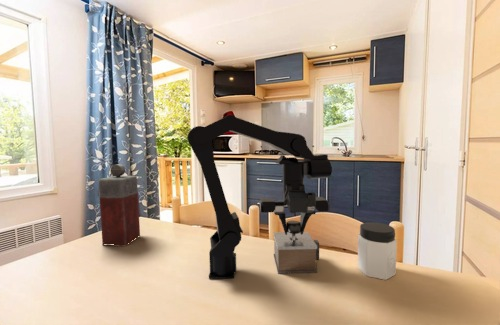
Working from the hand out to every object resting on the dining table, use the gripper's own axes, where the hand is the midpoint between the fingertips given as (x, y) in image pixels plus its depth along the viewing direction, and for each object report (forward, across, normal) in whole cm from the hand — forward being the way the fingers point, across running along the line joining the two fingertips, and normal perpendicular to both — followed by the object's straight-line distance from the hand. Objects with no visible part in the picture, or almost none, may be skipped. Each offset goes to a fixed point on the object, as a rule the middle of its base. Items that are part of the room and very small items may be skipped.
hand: (293, 234), depth 69 cm
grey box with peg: (+9, 0, 0) cm, 9 cm away
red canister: (+9, -59, +21) cm, 63 cm away
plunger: (+9, 0, 0) cm, 9 cm away
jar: (+9, +21, -5) cm, 23 cm away
